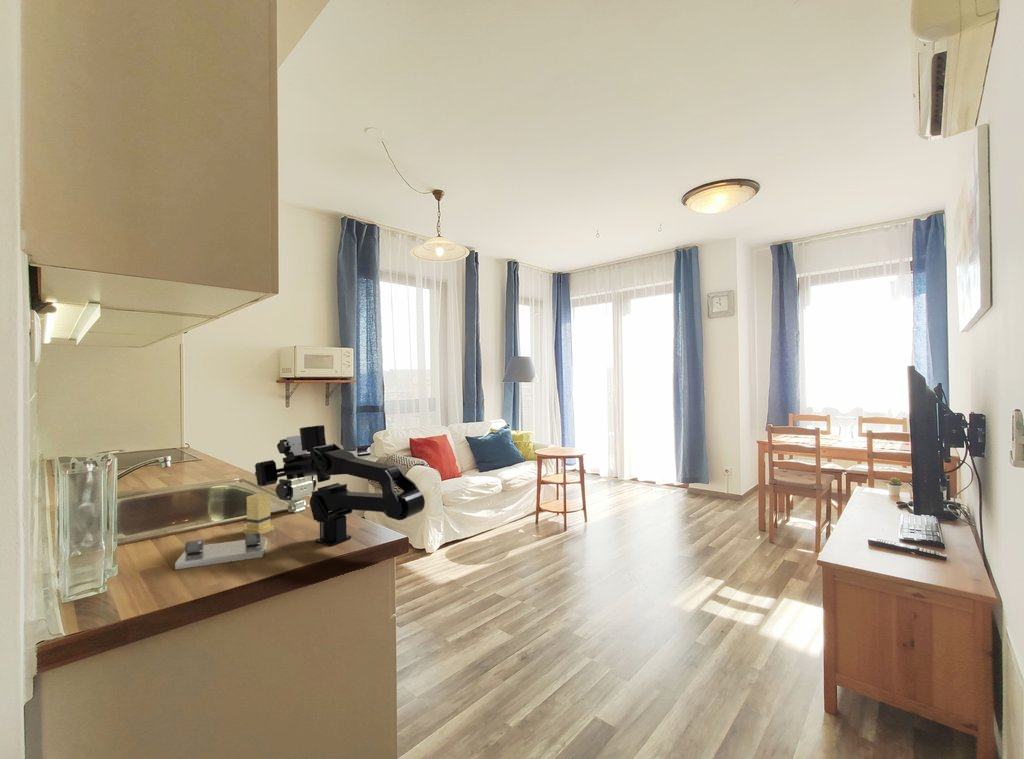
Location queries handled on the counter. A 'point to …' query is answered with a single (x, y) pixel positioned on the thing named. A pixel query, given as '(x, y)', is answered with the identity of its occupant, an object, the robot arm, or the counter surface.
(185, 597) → the counter surface
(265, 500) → the yellow banded block
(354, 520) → the counter surface
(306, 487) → the pneumatic valve
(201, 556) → the plate
